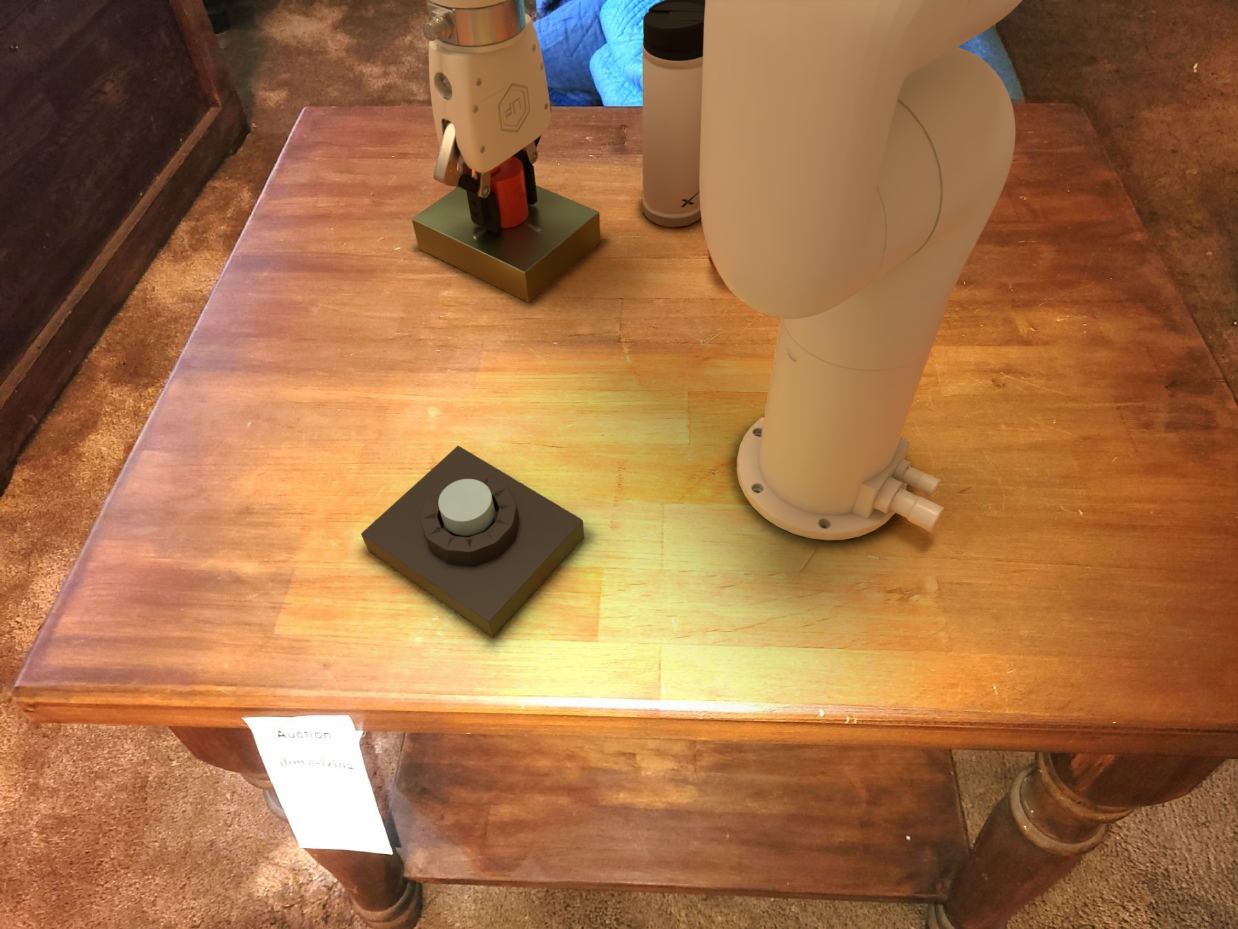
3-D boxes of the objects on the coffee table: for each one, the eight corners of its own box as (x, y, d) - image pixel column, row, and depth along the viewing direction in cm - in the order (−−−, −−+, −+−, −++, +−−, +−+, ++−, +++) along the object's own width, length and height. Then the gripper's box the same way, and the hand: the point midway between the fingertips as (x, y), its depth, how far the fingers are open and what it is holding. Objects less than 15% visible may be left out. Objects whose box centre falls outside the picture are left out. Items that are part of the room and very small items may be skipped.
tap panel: (601, 242, 85) (599, 210, 83) (528, 303, 80) (524, 270, 77) (493, 195, 91) (488, 163, 88) (418, 249, 85) (410, 217, 83)
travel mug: (703, 231, 86) (716, 23, 71) (637, 224, 87) (636, 18, 72) (712, 195, 90) (726, -10, 75) (648, 189, 91) (649, -15, 75)
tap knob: (503, 195, 85) (496, 145, 81) (538, 211, 83) (532, 160, 79) (472, 218, 82) (463, 167, 78) (507, 234, 81) (500, 183, 77)
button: (505, 509, 61) (502, 494, 59) (470, 545, 59) (466, 530, 58) (467, 486, 62) (463, 470, 61) (431, 519, 60) (427, 504, 59)
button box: (584, 537, 63) (581, 504, 60) (493, 638, 58) (484, 608, 55) (462, 463, 68) (454, 429, 65) (368, 551, 63) (353, 518, 60)
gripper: (436, 69, 63) (474, 274, 77) (580, -15, 71) (591, 183, 85) (363, 42, 66) (413, 244, 80) (510, -36, 74) (532, 159, 88)
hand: (504, 210), depth 82 cm, fingers closed on tap knob, 4 cm apart
